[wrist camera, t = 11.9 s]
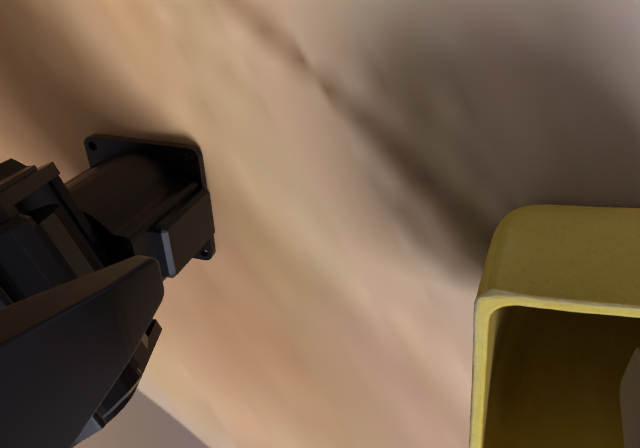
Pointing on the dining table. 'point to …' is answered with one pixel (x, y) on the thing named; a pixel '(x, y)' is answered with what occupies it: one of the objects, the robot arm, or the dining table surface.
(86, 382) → the robot arm
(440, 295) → the dining table surface
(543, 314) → the flower pot
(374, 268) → the dining table surface
